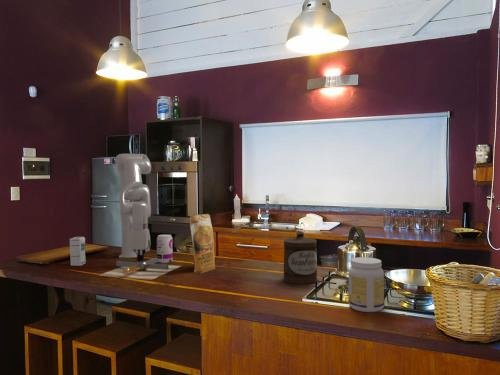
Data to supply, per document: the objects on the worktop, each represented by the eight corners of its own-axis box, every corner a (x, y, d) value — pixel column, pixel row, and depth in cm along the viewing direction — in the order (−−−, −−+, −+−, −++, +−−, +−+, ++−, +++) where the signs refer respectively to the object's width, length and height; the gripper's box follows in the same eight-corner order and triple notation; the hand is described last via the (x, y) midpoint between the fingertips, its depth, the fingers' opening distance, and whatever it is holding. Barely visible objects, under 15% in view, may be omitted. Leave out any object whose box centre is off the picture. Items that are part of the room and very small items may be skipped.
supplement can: (174, 261, 217) (174, 234, 217) (169, 265, 209) (169, 236, 208) (160, 261, 218) (159, 234, 217) (155, 264, 210) (154, 236, 209)
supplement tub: (376, 301, 147) (377, 256, 146) (389, 312, 135) (389, 263, 134) (344, 302, 147) (344, 256, 146) (354, 313, 134) (354, 264, 134)
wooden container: (290, 285, 169) (290, 234, 168) (279, 277, 183) (279, 229, 183) (322, 282, 173) (322, 232, 172) (308, 274, 187) (308, 228, 186)
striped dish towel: (133, 264, 210) (133, 261, 210) (181, 268, 201) (181, 265, 201) (98, 277, 183) (98, 274, 183) (151, 282, 175) (151, 279, 175)
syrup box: (81, 265, 208) (80, 238, 208) (70, 265, 208) (69, 238, 208) (85, 263, 214) (85, 236, 213) (75, 263, 214) (74, 236, 214)
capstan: (133, 261, 210) (133, 254, 210) (181, 265, 201) (181, 258, 201) (98, 274, 183) (98, 266, 183) (151, 278, 175) (151, 270, 175)
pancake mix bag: (185, 274, 189) (184, 215, 188) (209, 266, 205) (209, 212, 205) (196, 276, 186) (195, 216, 185) (220, 267, 202) (219, 213, 201)
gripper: (123, 227, 201) (123, 263, 201) (148, 228, 196) (149, 264, 197) (131, 225, 208) (132, 260, 209) (156, 226, 204) (157, 261, 204)
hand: (140, 262), depth 203 cm, fingers closed
